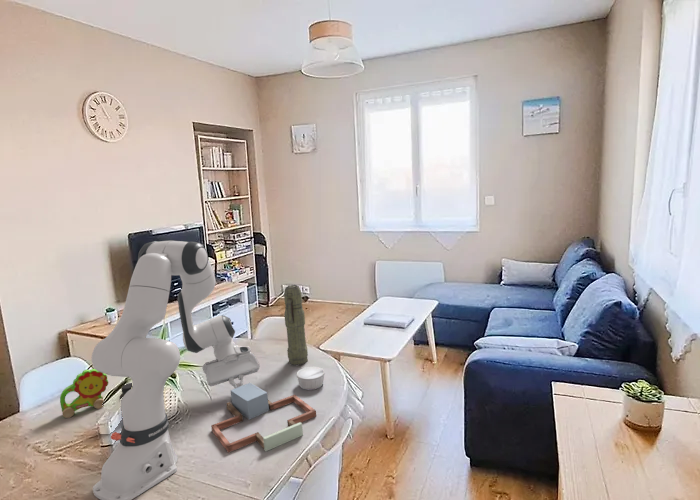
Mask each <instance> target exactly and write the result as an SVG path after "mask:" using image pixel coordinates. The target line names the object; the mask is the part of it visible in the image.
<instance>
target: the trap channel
mask: <svg viewBox="0 0 700 500" xmlns="http://www.w3.org/2000/svg"><path fill="white" fill-rule="evenodd" d="M292 403H295V404H296V405H297V406H298V407H299V408H301V409H302V411H304V413H302V414H299V415H296V416H294V417H291V418H289V419H287V421H286V423H287V427H290V426H292V425H294V424H297V423H299V422H301V423H303V422H306V421H308V420H310V419H312V418H315V417H317V410H316V409H314V408H313V407H311V406H310V405H309V404H308V403H306V402H305V401H304V400H303V399H301V398H300V397H298V396H297V395H296V394H292V395H290V396H287V397H285V398H281V399H278V400H277V401H274V402H272V401H270V399H268V405H269V411H273V410H276V409H278V408H281V407H285V406H286V405H289V404H292ZM225 405H226V408H227V410H228V411H229V412H230V413H231V414H232V416H233V417H230V418H228V419H225V420H222V421H219V422H217V423H214V424H211V432H212V434H213V435H214V436H215V437H216V439H217V440H218V441H219V442H220V444H221V445H222V447H223V448H224V449H225V450H226V452H227V453H228V454H229V453H231V452H234V451H236V450H238V449H240V448H243V447H246V446H248V445H250V444H252V443H255V442H257V443H258V445H260V447H261V448H262V449H263V450H264V441H263V437H264V436H262V435H261V434H260V432H258V431H257V432H255V433H252V434H250V435H247V436H245V437H242V438H240V439H238V440H235V441H233V442H229V440H228V438H227V437H225V435H224V434H223V433H222V431H221V430H223V429H226V428H228V427H231V426H233V425H236V424H239V423H242V422H243V421H244V416H243V415H242V414H240V412H239V411H238V410H237V409H236V408H235V407H234V406H233V405H232V402H230V401H228V402H226V404H225Z"/></svg>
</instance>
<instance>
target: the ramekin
mask: <svg viewBox="0 0 700 500" xmlns="http://www.w3.org/2000/svg"><path fill="white" fill-rule="evenodd" d="M325 374H326V373H325V370H324V368H322V367H318V366H305V367H302V368H300V369H299V370H298V371H297V372H296V378H297V382H298V385H299V386H298V387H300V388H301V389H303V390H307V391H309V390H310V391H311V390H316V389H319V388H321V386H322V385H323V384H324V380H325Z"/></svg>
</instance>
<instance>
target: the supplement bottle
mask: <svg viewBox="0 0 700 500" xmlns="http://www.w3.org/2000/svg"><path fill="white" fill-rule="evenodd" d="M132 383H133V382H129V383H125V384H126V385H125V384H123V385H124V386H123V385H122V386H123V387H122V386H121V387H122V388H121V394H120V396H119V400H120V399H121V398H122V397H123V396H124V395H125V394H126V393H127V392H128V391H129V390H130V389H131V387H132Z"/></svg>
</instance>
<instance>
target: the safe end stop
mask: <svg viewBox="0 0 700 500" xmlns="http://www.w3.org/2000/svg"><path fill="white" fill-rule="evenodd" d="M302 436H304V430H303V422H299V423H297V424H294V425H292V426H290V427H289V426H287V427H286V428H283V429H280V430H277V431H276V432H273V433H271V434H268V435H265V436H262V437H263V441H264V449H263V450H264V451H265V452H268V451H270V450H272V449H274V448H277V447H279V446H281V445H283V444H286V443H288V442H291V441H293V440H295V439H298V438H300V437H302Z"/></svg>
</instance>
